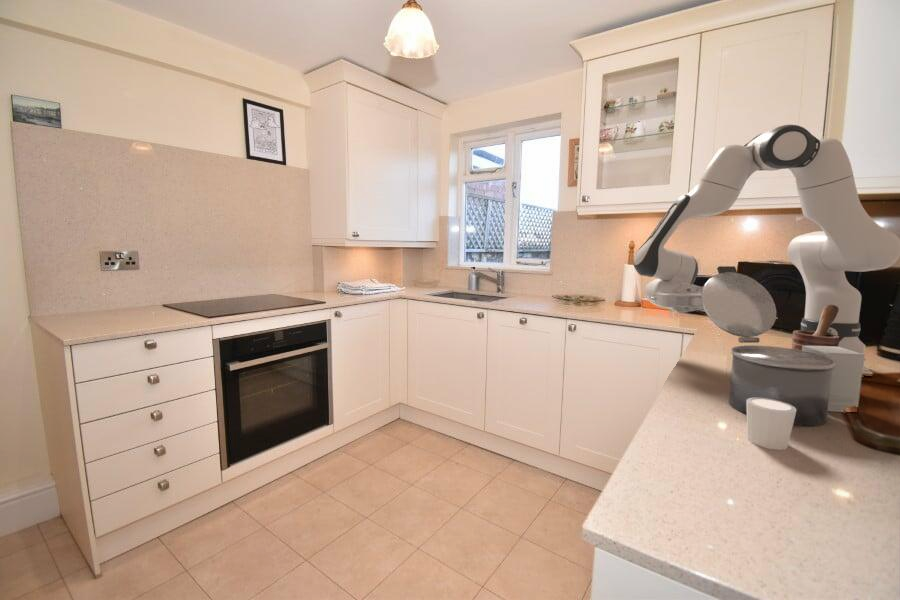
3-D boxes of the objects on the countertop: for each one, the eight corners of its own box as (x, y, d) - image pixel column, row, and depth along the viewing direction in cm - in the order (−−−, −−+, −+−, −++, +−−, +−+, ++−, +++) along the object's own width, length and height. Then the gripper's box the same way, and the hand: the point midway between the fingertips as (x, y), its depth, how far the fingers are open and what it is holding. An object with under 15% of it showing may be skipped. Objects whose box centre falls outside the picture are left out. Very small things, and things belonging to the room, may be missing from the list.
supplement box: (858, 413, 83) (866, 354, 82) (817, 411, 85) (824, 352, 83) (832, 400, 90) (839, 345, 89) (795, 398, 92) (801, 344, 90)
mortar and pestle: (790, 374, 110) (798, 301, 107) (833, 381, 104) (843, 304, 101) (785, 384, 101) (794, 306, 99) (832, 392, 95) (843, 309, 93)
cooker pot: (710, 395, 93) (714, 345, 92) (781, 395, 93) (786, 345, 92) (766, 427, 77) (772, 366, 75) (852, 427, 77) (860, 366, 75)
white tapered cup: (779, 455, 66) (784, 414, 65) (734, 438, 72) (738, 400, 72) (800, 445, 69) (804, 407, 69) (755, 430, 76) (758, 394, 75)
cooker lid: (715, 341, 91) (710, 344, 93) (788, 341, 91) (782, 344, 93) (693, 266, 99) (689, 270, 101) (760, 266, 99) (755, 270, 101)
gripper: (647, 286, 118) (673, 291, 105) (716, 287, 119) (751, 292, 105) (645, 307, 119) (671, 314, 105) (714, 308, 119) (748, 316, 106)
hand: (711, 303), depth 105 cm, fingers closed
